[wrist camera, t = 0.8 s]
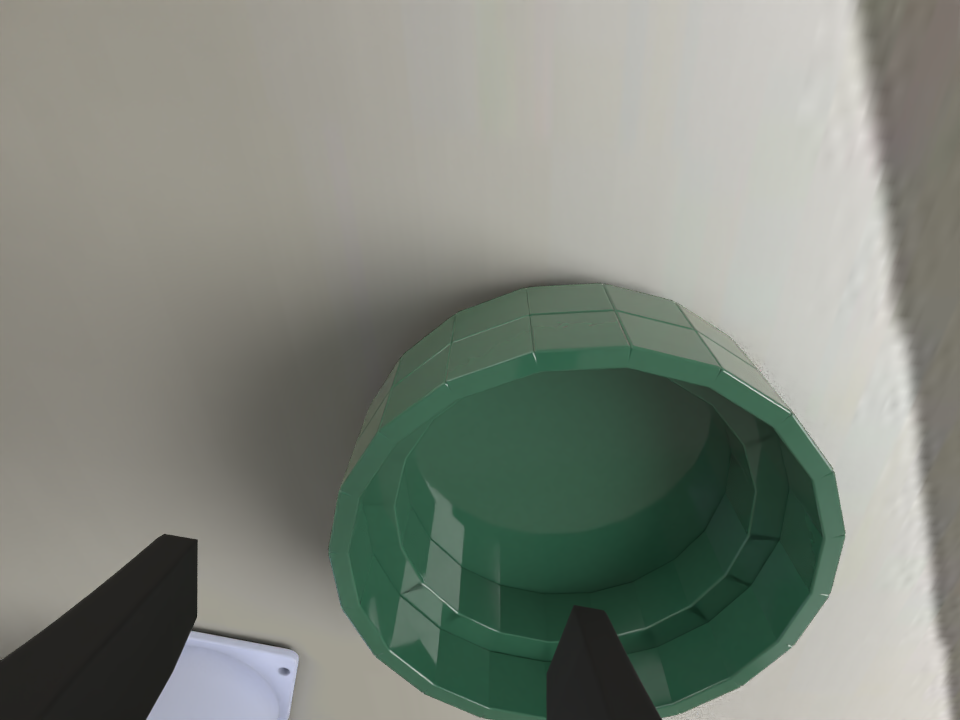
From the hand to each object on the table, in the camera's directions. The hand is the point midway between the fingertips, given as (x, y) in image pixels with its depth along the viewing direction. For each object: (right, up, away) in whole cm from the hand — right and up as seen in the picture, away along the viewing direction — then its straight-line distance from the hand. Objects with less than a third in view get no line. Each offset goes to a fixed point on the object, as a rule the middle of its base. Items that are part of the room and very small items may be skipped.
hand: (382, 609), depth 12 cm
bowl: (+5, +1, +10) cm, 11 cm away
